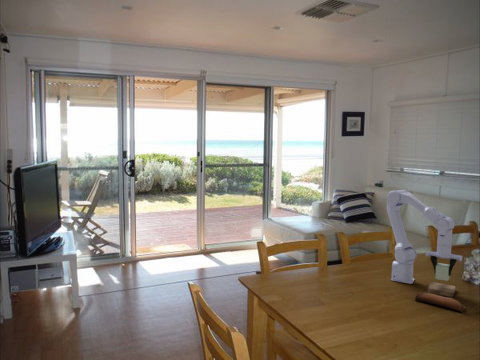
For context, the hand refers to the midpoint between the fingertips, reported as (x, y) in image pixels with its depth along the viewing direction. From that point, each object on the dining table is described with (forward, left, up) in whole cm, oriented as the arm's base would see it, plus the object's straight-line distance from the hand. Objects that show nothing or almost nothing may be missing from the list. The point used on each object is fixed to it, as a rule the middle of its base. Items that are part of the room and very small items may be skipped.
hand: (442, 274), depth 185 cm
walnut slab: (0, 0, -8) cm, 8 cm away
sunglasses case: (+1, -16, -9) cm, 19 cm away
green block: (0, 0, -2) cm, 2 cm away
